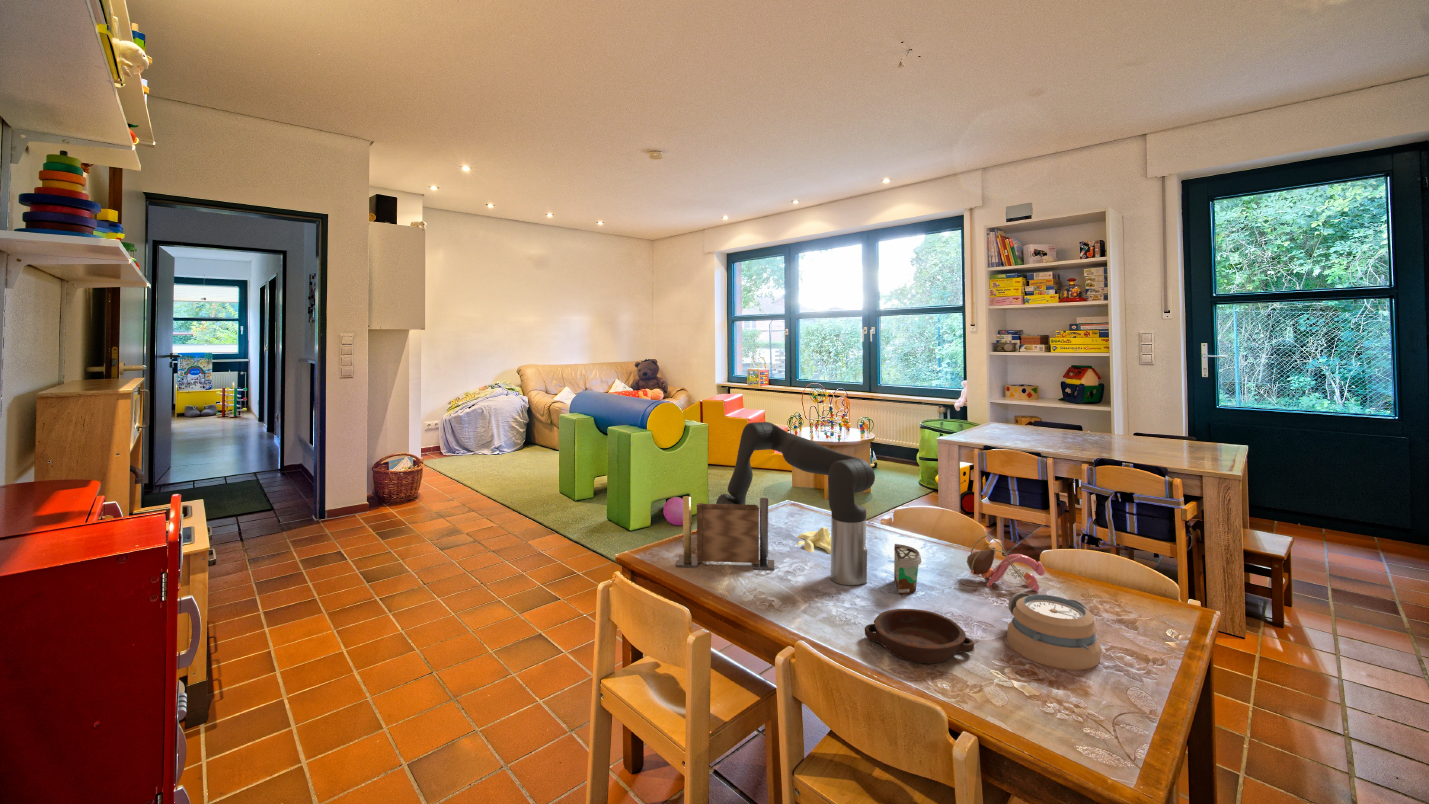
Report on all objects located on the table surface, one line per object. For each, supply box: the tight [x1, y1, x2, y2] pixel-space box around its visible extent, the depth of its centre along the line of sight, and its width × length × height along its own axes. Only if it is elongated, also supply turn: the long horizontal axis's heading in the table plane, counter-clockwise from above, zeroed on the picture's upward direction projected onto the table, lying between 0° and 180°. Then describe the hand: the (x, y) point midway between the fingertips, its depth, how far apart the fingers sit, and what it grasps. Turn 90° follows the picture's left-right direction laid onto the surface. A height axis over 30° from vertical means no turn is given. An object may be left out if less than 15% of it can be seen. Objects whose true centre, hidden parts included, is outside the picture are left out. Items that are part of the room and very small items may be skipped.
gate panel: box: [696, 502, 760, 564], centre depth 168 cm, size 18×2×17 cm, turn 85°
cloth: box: [796, 526, 831, 555], centre depth 185 cm, size 22×19×6 cm
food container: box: [893, 543, 922, 596], centre depth 151 cm, size 12×6×10 cm, turn 168°
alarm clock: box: [1006, 591, 1102, 671], centre depth 124 cm, size 17×9×23 cm
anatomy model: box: [966, 533, 1046, 592], centre depth 154 cm, size 11×15×17 cm
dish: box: [864, 608, 975, 664], centre depth 122 cm, size 17×22×5 cm
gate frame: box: [675, 495, 775, 571], centre depth 168 cm, size 28×6×20 cm, turn 85°
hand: (723, 537), depth 172 cm, fingers closed
